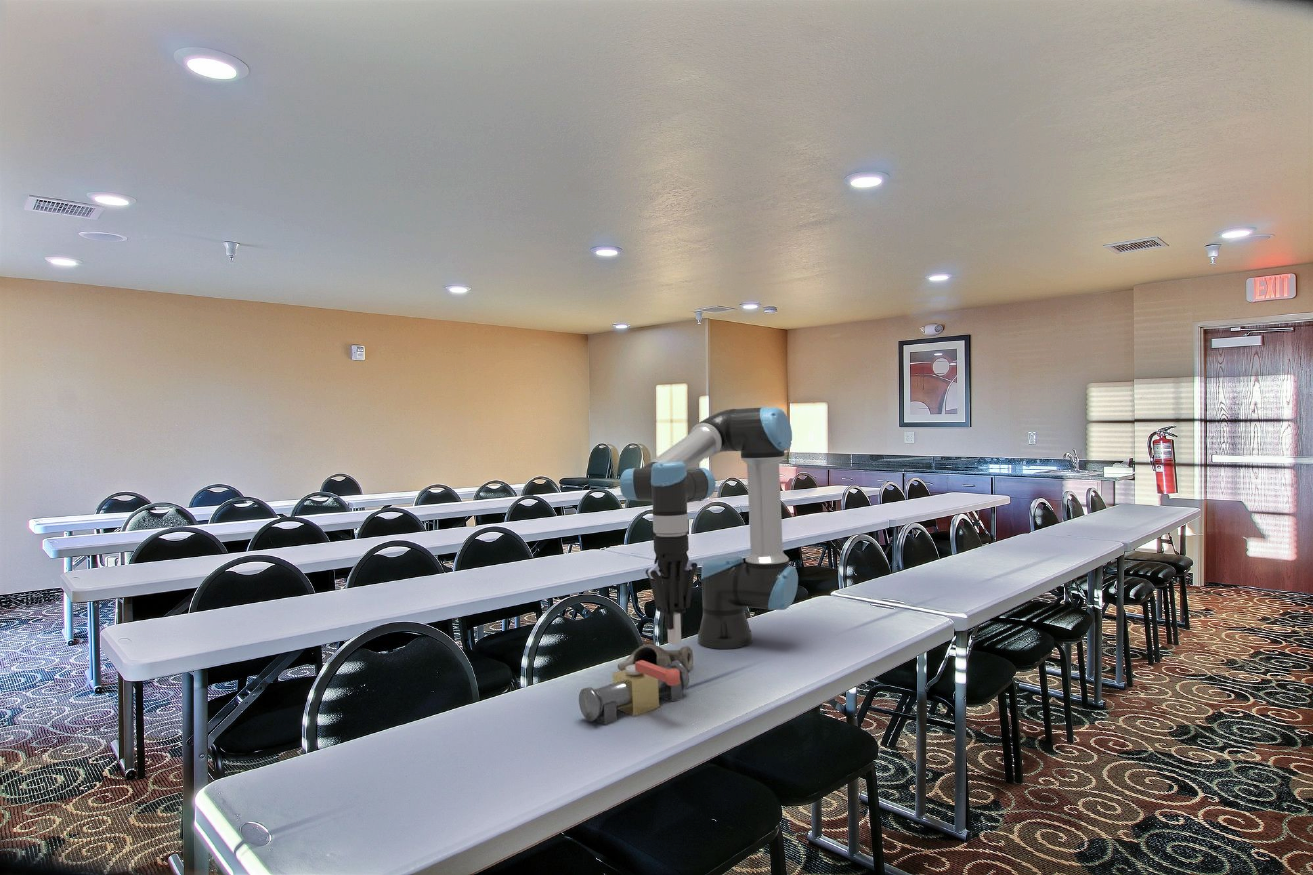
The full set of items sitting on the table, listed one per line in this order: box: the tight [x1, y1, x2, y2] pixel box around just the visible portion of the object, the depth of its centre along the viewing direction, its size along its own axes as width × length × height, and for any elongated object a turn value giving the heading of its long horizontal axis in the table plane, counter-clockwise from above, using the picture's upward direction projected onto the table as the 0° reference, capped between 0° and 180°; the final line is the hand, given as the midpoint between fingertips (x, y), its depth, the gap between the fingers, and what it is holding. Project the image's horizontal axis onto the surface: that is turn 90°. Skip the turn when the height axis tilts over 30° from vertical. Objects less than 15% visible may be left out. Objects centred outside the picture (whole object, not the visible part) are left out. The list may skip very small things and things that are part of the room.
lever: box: [626, 660, 680, 686], centre depth 158 cm, size 16×4×3 cm, turn 39°
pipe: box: [617, 643, 694, 672], centre depth 184 cm, size 16×9×15 cm
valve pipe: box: [578, 660, 690, 726], centre depth 163 cm, size 25×7×8 cm, turn 129°
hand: (674, 643), depth 161 cm, fingers closed
